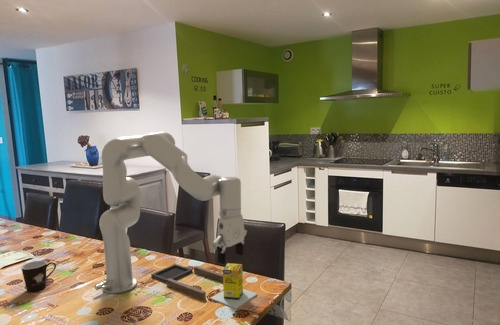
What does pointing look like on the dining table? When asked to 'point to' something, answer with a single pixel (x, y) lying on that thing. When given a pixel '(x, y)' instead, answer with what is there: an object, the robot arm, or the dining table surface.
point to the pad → (234, 302)
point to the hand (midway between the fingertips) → (230, 258)
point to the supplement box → (232, 281)
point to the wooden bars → (192, 290)
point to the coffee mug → (35, 275)
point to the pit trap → (171, 273)
